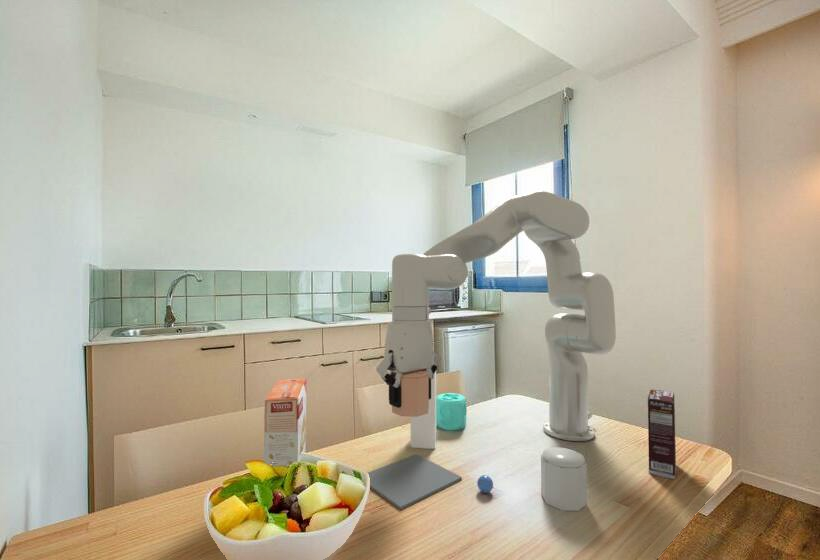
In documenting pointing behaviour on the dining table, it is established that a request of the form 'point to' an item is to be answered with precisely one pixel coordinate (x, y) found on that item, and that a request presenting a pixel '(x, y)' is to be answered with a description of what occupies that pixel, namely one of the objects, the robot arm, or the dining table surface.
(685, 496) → the dining table surface
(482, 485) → the marble
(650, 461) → the supplement box
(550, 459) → the white lidded canister
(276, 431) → the cracker box
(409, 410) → the peach cylinder canister
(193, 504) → the dining table surface
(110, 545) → the dining table surface
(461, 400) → the turquoise embossed cylinder
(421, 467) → the rubber mat
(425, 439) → the milk
